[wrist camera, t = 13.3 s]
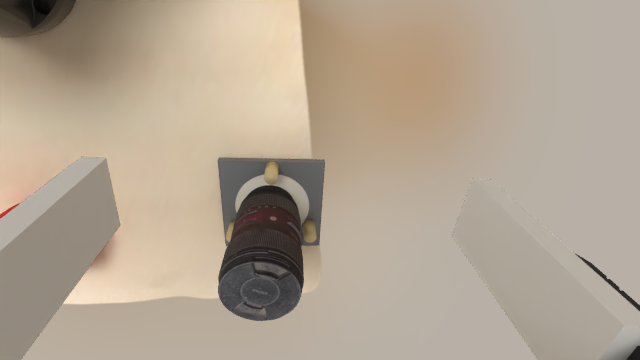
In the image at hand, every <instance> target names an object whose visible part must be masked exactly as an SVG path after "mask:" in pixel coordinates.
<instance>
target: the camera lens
mask: <svg viewBox="0 0 640 360" xmlns="http://www.w3.org/2000/svg"><path fill="white" fill-rule="evenodd" d="M302 245H303V232H302V229H301V219H300V215H299V210H298V207H297V204H296V202H295V201H294V199H293V197H292V196H291V195H290V193H289V192H288V191H286V190H285V189H283V188H281V187H278V186H274V185H264V186H260V187H257V188H256V189H254V190H252V191H251V192H250V193H249V194H248V195H247V197H246V198H245V199H244V200H243V201H242V203H241V205H240V208H239V210H238V212H237V214H236V218H235V222H234V226H233V231H232V235H231V239H230V242H229V244H228V246H227V249H226V252H225V255H224V258H223V262H222V266H221V270H220V273H219V286H218V293H219V297H220V300H221V302H222V303H223V305H224V306H225V307H226V308H227V309H228V310H229V311H231V312H232V313H234V314H236V315H238V316H240V317H243V318H246V319H250V320H256V321H265V320H274V319H277V318H280V317H282V316H284V315H286V314H288V313H289V312H291V311H292V310H293V309H294V308H295V307H296V305H297V304H298V302H299V300H300V297H301V293H302V288H303V283H304V277H303V256H302V249H301V246H302Z"/></svg>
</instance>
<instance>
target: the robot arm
mask: <svg viewBox="0 0 640 360" xmlns="http://www.w3.org/2000/svg"><path fill="white" fill-rule="evenodd" d="M74 3H75V0H0V37H20V36H28V35H35V34H39V33H42V32H45V31H47V30H50V29H52V28H53V27H55V26H56V25H58V24H59V23H60V22H61V21H62V20H63V19H64V18H65V17H66V16H67V15H68V13H69V12H70V10H71V9H72V7H73V5H74ZM119 226H120V222H119V217H118V212H117V207H116V203H115V198H114V193H113V188H112V184H111V179H110V174H109V170H108V165H107V160H106V158H98V157H80V158H79V159H78V160H76V161H75V162H74V163H72V164H71V165H70V166H69V167H67V168H66V169H65V170H63V171H62V172H61V173H59V174H58V175H57V176H55V177H54V178H53V179H52V180H50V181H49V182H48V183H46V184H45V185H44V186H42V187H41V188H40V189H39V190H37V191H36V192H35V193H33V194H32V195H31V196H29V197H28V198H27V199H26V200H24V201H23V202H22V203H20V204H19V205H18V206H16V207H15V208H14V209H12V210H11V211H10V212H9V213H7V214H6V215H5V216H3V217H2V218H1V219H0V360H21V359H22V358H23V356H24V355H25V354H26V352H27V351H28V349H29V348H30V347H31V346H32V344H33V343H34V341H35V340H36V339H37V337H38V336H39V335H40V333H41V332H42V331H43V329H44V328H45V327H46V325H47V324H48V322H49V321H50V320H51V318H52V317H53V316H54V314H55V313H56V312H57V310H58V309H59V308H60V306H61V305H62V304H63V302H64V301H65V299H66V298H67V297H68V295H69V294H70V293H71V291H72V290H73V289H74V287H75V286H76V285H77V283H78V282H79V280H80V279H81V278H82V276H83V275H84V274H85V272H86V271H87V270H88V268H89V267H90V266H91V264H92V263H93V261H94V260H95V259H96V257H97V256H98V255H99V253H100V252H101V251H102V249H103V248H104V247H105V245H106V244H107V242H108V241H109V240H110V238H111V237H112V236H113V234H114V233H115V232H116V230H117V229H118V228H119ZM452 237H453V238H454V240H455V241H456V243H457V244H458V245H459V247H460V248H461V250H462V251H463V253H464V254H465V256H466V257H467V258H468V260H469V261H470V263H471V264H472V266H473V267H474V269H475V270H476V271H477V273H478V274H479V276H480V277H481V279H482V280H483V282H484V283H485V284H486V286H487V287H488V289H489V290H490V292H491V293H492V295H493V296H494V297H495V299H496V300H497V302H498V303H499V305H500V306H501V307H502V309H503V310H504V312H505V313H506V315H507V316H508V318H509V319H510V321H511V322H512V323H513V325H514V326H515V328H516V329H517V331H518V332H519V334H520V335H521V337H522V338H523V339H524V341H525V342H526V344H527V345H528V347H529V348H530V349H531V351H532V352H533V354H534V355H535V357H536V358H537V360H640V305H639V304H637V303H636V302H635V301H634V300H633V299H632V298H630V296H628V295H627V294H626V293H625V292H624V291H620V290H619V287H618V286H617V285H616V284H615V283H613V282H612V281H611V280H610V279H607V278H606V276H605V275H604V274H603V273H602V272H601V271H600V270H598V269H597V268H596V267H595V266H594V265H593V264H592V263H590V262H588V261H587V260H585V259H584V258H582V257H580V256H579V255H577V254H575V253H574V252H572V251H571V250H570V249H569V248H568V247H567V246H565V245H564V244H563V243H562V242H561V241H560V240H559V239H558V238H556V237H555V236H554V235H553V234H552V233H551V232H550V231H548V230H547V229H546V228H545V227H544V226H543V225H542V224H541V223H540V222H538V221H537V220H536V219H535V218H534V217H533V216H532V215H531V214H529V213H528V212H527V211H526V210H525V209H524V208H523V207H522V206H520V205H519V204H518V203H517V202H516V201H515V200H514V199H513V198H512V197H510V196H509V195H508V194H507V193H506V192H505V191H504V190H503V189H501V188H500V187H499V186H498V185H497V184H496V183H495V182H493V181H492V180H491V179H479V178H478V179H477V178H472V181H471V183H470V186H469V189H468V192H467V195H466V198H465V200H464V203H463V206H462V209H461V212H460V215H459V217H458V220H457V223H456V226H455V229H454V231H453V234H452Z"/></svg>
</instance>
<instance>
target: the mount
mask: <svg viewBox="0 0 640 360" xmlns="http://www.w3.org/2000/svg"><path fill="white" fill-rule="evenodd" d="M218 167H219V178H220V189H221V199H222V210H223V221H224V232H225V243H226V246H228V244H229V242H230V239H231V235H232V231H233V226H234V222H235V218H236V214H237V212H238V210H239V208H240V205H241V203H242V201H243V200H244V199H245V198H246V197H247V195H248V194H249V193H250V192H251V191H252V190H254V189H256V188H257V187H260V186H264V185H274V186H278V187H281V188H283V189H285V190H286V191H288V192H289V193H290V195H291V196H292V197H293V199H294V201H295V202H296V204H297V207H298V210H299V215H300V219H301V229H302V232H303V245H319V240H320V224H321V210H322V196H323V181H324V168H325V161H324V160H310V159H258V158H219V159H218Z"/></svg>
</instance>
